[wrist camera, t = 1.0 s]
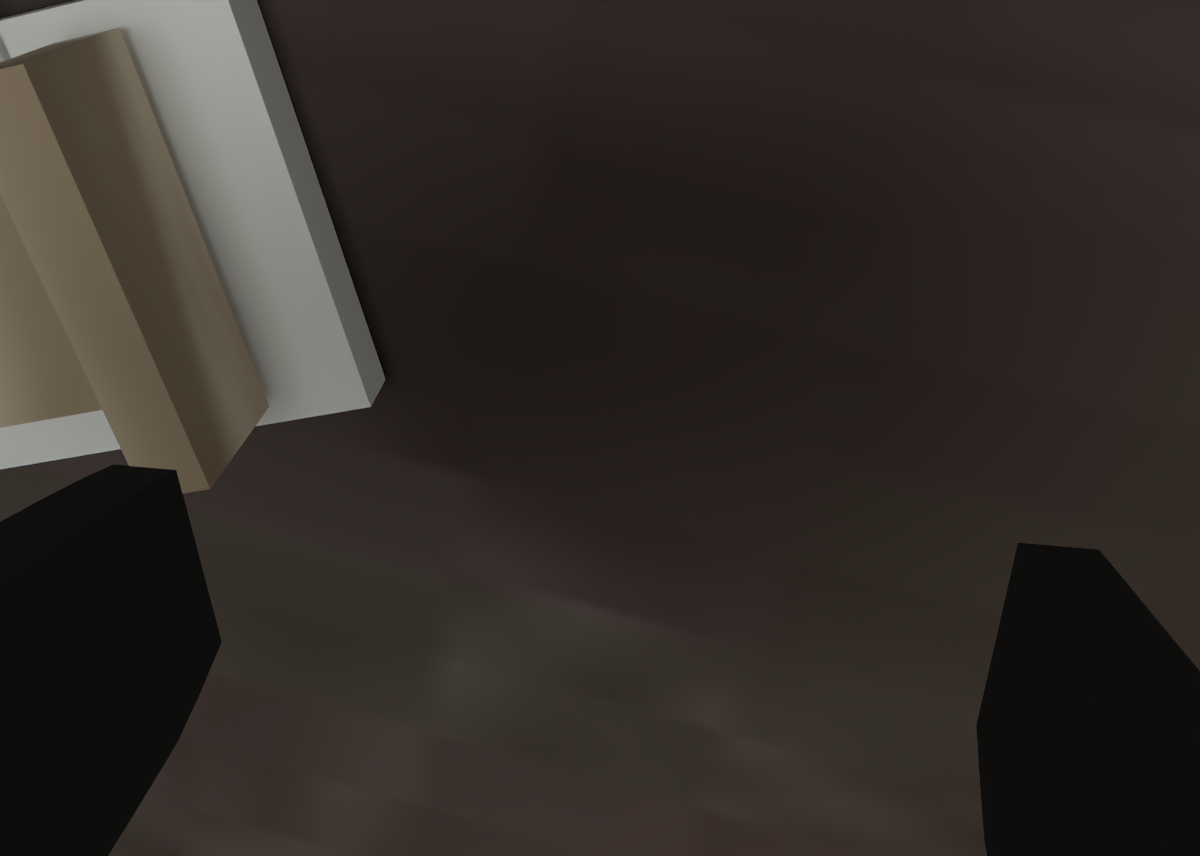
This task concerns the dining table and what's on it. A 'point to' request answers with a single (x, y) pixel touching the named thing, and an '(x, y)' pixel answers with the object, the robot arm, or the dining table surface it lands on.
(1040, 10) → the dining table surface
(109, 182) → the gauge carriage
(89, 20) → the gauge base
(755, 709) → the dining table surface
